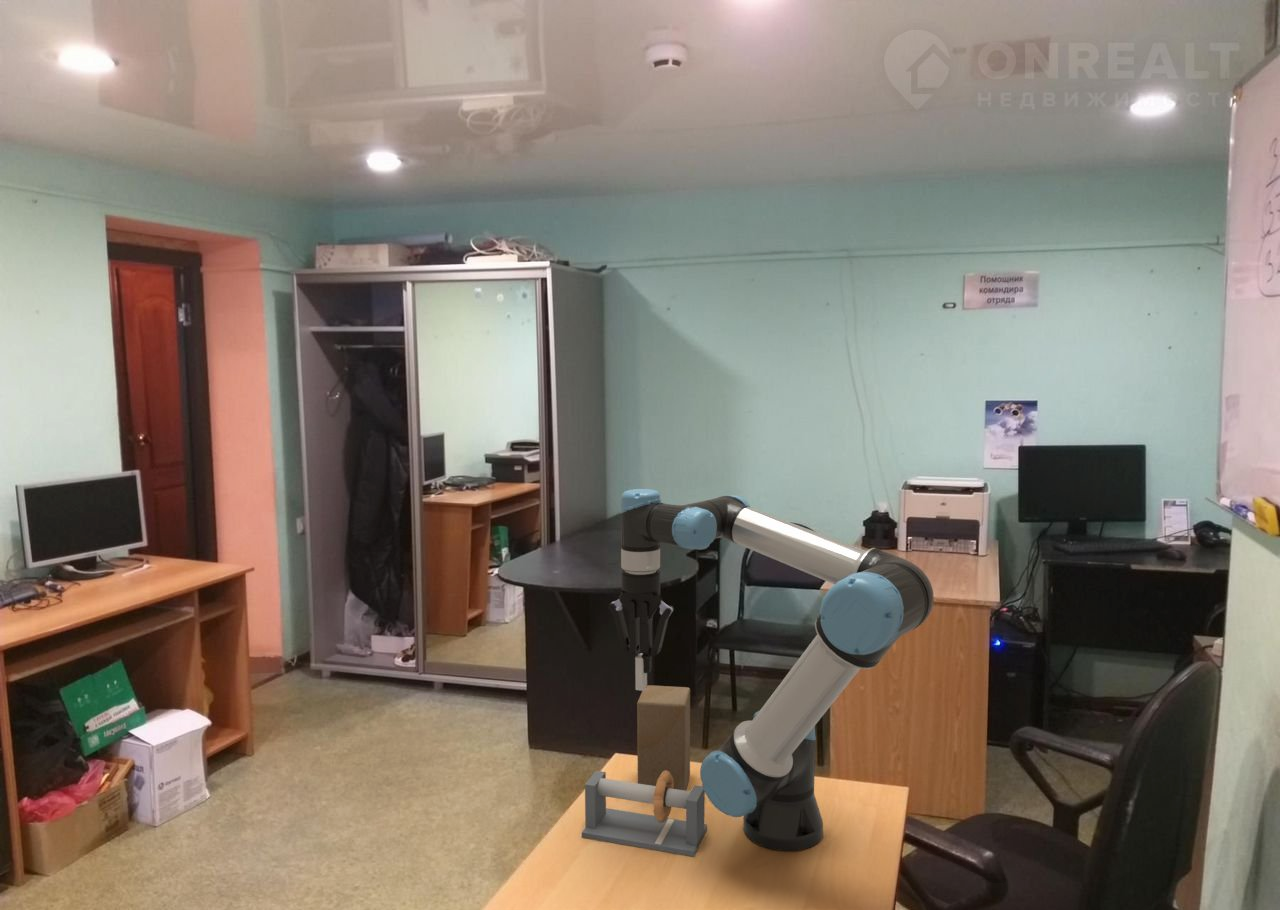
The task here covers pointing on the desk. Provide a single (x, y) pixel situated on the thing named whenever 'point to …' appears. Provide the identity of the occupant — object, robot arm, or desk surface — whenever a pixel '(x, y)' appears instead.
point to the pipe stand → (643, 816)
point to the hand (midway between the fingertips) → (641, 687)
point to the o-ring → (659, 809)
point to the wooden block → (663, 734)
